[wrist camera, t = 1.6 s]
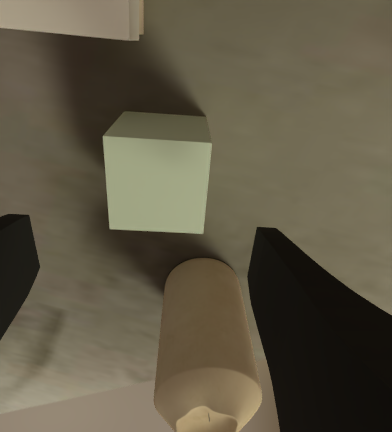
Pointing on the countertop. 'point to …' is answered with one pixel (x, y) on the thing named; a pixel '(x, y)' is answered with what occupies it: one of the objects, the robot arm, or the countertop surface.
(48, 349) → the countertop surface
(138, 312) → the countertop surface
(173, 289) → the candle
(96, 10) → the tower top
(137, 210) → the sage block
